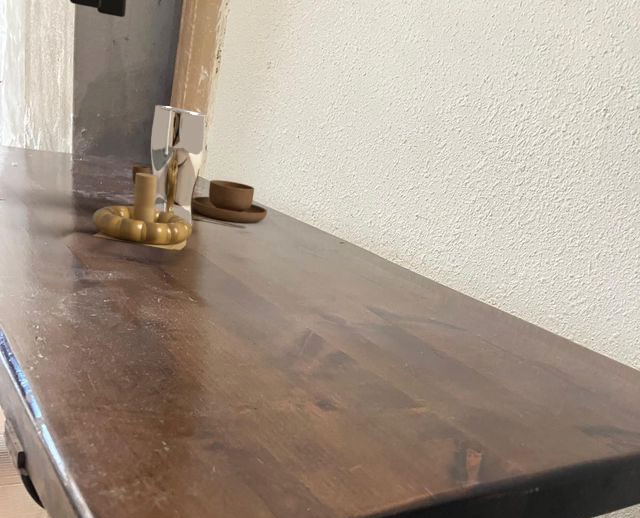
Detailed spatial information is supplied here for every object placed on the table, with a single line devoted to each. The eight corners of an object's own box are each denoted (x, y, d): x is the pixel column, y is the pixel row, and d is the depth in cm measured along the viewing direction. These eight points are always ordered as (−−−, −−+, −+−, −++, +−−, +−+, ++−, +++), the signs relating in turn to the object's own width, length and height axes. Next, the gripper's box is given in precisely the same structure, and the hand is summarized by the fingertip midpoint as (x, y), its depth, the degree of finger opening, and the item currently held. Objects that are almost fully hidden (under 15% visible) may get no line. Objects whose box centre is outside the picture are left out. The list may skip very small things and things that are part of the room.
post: (92, 245, 85) (95, 171, 82) (114, 232, 93) (118, 164, 90) (170, 259, 85) (177, 186, 82) (185, 245, 94) (192, 178, 90)
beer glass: (135, 217, 104) (143, 102, 98) (178, 218, 109) (188, 109, 103) (162, 229, 100) (172, 110, 94) (205, 230, 105) (217, 116, 99)
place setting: (259, 231, 111) (265, 191, 108) (126, 207, 110) (128, 166, 107) (270, 214, 127) (275, 179, 124) (153, 193, 126) (156, 157, 123)
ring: (80, 234, 84) (81, 212, 83) (110, 219, 94) (111, 200, 93) (178, 251, 84) (180, 230, 83) (197, 235, 95) (199, 216, 94)
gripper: (96, -156, 85) (89, 12, 92) (39, -214, 69) (36, -6, 76) (161, -143, 85) (149, 23, 92) (119, -198, 70) (109, 8, 77)
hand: (98, 10), depth 84 cm, fingers open, 9 cm apart
